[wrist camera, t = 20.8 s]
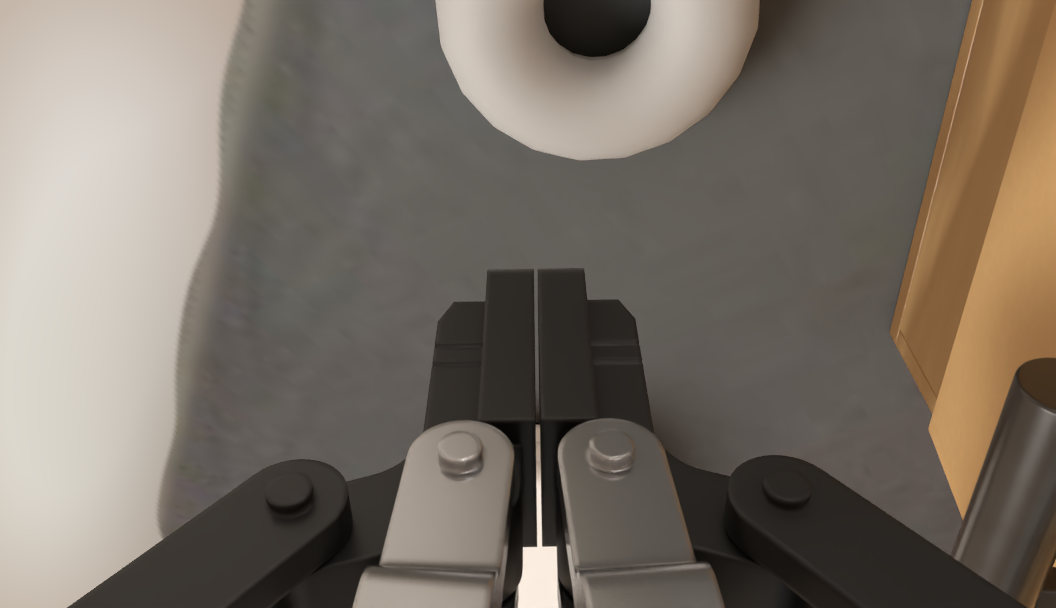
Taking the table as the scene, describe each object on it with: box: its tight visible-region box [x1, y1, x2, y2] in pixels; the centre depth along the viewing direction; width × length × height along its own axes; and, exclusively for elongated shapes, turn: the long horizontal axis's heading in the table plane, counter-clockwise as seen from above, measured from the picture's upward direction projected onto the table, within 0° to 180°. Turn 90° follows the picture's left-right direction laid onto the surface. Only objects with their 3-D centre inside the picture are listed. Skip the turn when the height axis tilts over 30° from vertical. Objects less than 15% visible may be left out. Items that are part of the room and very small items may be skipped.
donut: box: [435, 0, 760, 160], centre depth 29 cm, size 10×4×10 cm
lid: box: [928, 3, 1056, 608], centre depth 23 cm, size 14×18×5 cm
